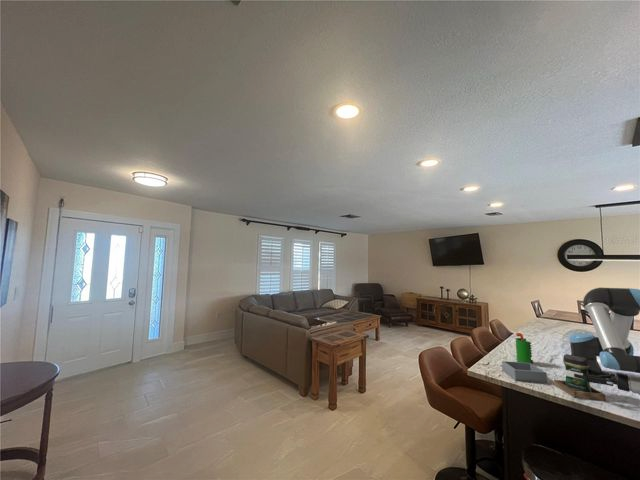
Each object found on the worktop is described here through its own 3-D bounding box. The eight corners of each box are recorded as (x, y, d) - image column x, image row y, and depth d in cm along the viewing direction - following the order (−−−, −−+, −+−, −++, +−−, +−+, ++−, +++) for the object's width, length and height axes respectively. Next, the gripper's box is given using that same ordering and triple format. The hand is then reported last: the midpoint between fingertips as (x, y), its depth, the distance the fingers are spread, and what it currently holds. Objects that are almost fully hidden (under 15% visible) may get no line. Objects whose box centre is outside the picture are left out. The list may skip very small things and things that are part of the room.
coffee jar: (564, 391, 136) (560, 354, 138) (568, 387, 140) (564, 352, 143) (590, 398, 128) (585, 359, 130) (593, 394, 132) (589, 356, 135)
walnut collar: (582, 387, 140) (581, 382, 140) (606, 401, 125) (605, 394, 126) (554, 385, 143) (554, 379, 143) (574, 397, 128) (574, 391, 129)
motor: (537, 366, 173) (534, 335, 176) (522, 364, 175) (519, 334, 178) (528, 361, 183) (525, 332, 186) (514, 360, 185) (511, 331, 187)
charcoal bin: (531, 373, 160) (530, 363, 161) (547, 383, 145) (546, 372, 146) (502, 370, 164) (501, 360, 164) (515, 380, 148) (514, 369, 149)
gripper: (629, 399, 113) (564, 382, 130) (632, 385, 128) (573, 372, 145) (626, 381, 114) (562, 367, 131) (630, 369, 129) (572, 358, 146)
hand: (568, 369), depth 138 cm, fingers open, 13 cm apart
